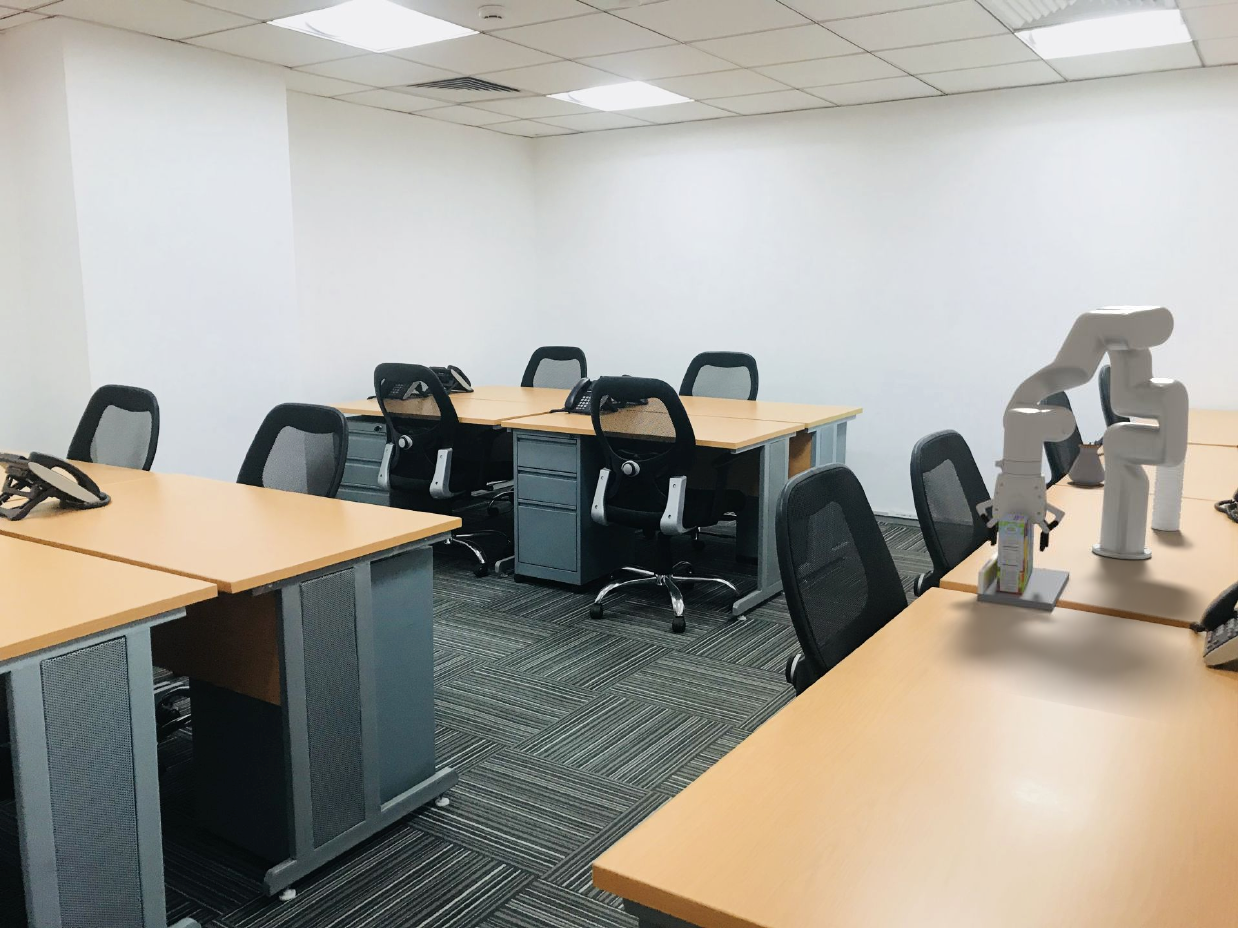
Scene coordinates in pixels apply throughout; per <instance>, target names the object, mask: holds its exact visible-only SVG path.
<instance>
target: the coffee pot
mask: <svg viewBox="0 0 1238 928" xmlns="http://www.w3.org/2000/svg"><path fill="white" fill-rule="evenodd" d="M1078 447H1079V450H1080V452H1079V454H1078V455H1077V457H1076V458H1075V460H1074V462H1073V464H1072V466H1071V468H1070V469H1069V471H1068V473H1067V475H1068V478H1069V479H1070V481H1072V482H1073V483H1074V484H1076V485H1080V486H1099V485H1100V484H1101V483H1104V480H1105V467H1104V466H1103V464H1102V460H1101V458H1100V457H1104V452H1100V453H1099V452H1098V451H1099V449H1100V448H1101V445H1098V444H1088V443H1085V444H1084V443H1083V444H1082V443H1081V444H1078Z"/></svg>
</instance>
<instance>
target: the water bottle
mask: <svg viewBox="0 0 1238 928" xmlns="http://www.w3.org/2000/svg"><path fill="white" fill-rule="evenodd" d="M1185 463H1186V457H1185V458H1184V460H1183V462H1182V463H1181V464H1180V465H1178V466H1176V467H1158V466H1155V468H1156V469H1155V481H1154V487H1153V488H1154V490H1153V498H1152V500H1153V502H1152V503H1153V504H1152V512H1151V513H1152V514H1151V517H1152V518H1151V524H1150V525H1151V529H1154V530H1157V531H1158V530H1159V531H1164V532H1165V531H1167V532H1176V531H1179V530H1180V524H1181V522H1180V519H1181V512H1182V501H1183V500H1182V498H1183V489H1184V488H1183V487H1184V483H1183V482H1184V476H1185V466H1186V464H1185Z"/></svg>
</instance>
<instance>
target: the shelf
mask: <svg viewBox="0 0 1238 928" xmlns="http://www.w3.org/2000/svg"><path fill="white" fill-rule="evenodd" d="M997 564H998V549H997V551H996V552H994V553H993V555H992V556H991V558H990V559H988V561H987V562H986V563H984V565H983V566H982V567H981V569H979V571H978V579H977V599H976V600H977V601H980V602H986V603H993V604H999V605H1001V604H1002V605H1007V606H1014V607H1020V608H1021V607H1022V608H1026V609H1034V610H1035V609H1036V610H1041V609H1042V611H1047V610H1048V611H1049V612H1053V610H1054V608H1055V606H1056V604H1057V602H1058V600H1059V599H1060V597H1059V596H1061V595H1062V593H1063V591H1064V589H1065V587H1066V586H1067V583H1068V582H1067V581H1069V579H1070V574H1071V573H1070V571H1064V570H1058V569H1057V570H1056V569H1049V568H1042V567H1034V566H1033V569H1032V572H1031V574H1030V576H1029V579H1028V581H1027V583H1026V586H1025V588H1024V591H1023V593H1022V594H1015V593H1006V592H997V591H996V588H997ZM1060 594H1061V595H1060ZM1058 598H1059V599H1058ZM1048 611H1047V612H1048Z"/></svg>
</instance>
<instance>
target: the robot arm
mask: <svg viewBox="0 0 1238 928" xmlns="http://www.w3.org/2000/svg"><path fill="white" fill-rule="evenodd" d="M1174 326H1175V320H1174V316H1173V314H1172V312H1171V311H1170V310H1169V309H1168V308H1166V307H1165V306H1158V305H1157V306H1156V305H1155V306H1154V305H1153V306H1151V305H1149V306H1148V305H1144V306H1143V305H1139V306H1138V305H1137V306H1135V305H1132V306H1131V305H1123V306H1122V305H1117V306H1116V305H1115V306H1112V305H1111V306H1104V307H1098V308H1097V309H1095V310H1091V311H1086V312H1084V313H1082V314H1080V315H1079V316H1078V318H1076V320H1075V322H1074V323H1073V325H1072V326H1071V329H1070V330H1069V332H1068V334H1067V336H1066V338H1065V340H1064V341H1063V344H1062V346H1061V348H1060V349H1059V351H1058V353H1057V355H1056V356H1055V359H1053V361H1052V362H1051V363H1049V364H1047V365H1045V366H1044V367H1042V368H1040V369H1039V370H1037V371H1036V372H1035V373H1033V374H1032V375H1030V376H1029V377H1028V378H1026V379H1025V380H1024V381H1022V382H1021V383H1020V384H1019V385H1018V386H1017V388H1016V389H1015V391H1014V393H1013V394H1012V396H1011V398H1010V399H1009V402H1008V403H1007V405H1006V407H1005V409H1004V413H1003V417H1002V427H1003V429H1004V431H1003V432H1004V433H1003V450H1002V451H1003V452H1002V454H1003V455H1002V459H1000V460H995V463H994V465H995V468H999V469H1000V470H1001V471H1000V472H998V473H997V477H996V481H995V484H994V493H993V498H991V499H988V500H986V501H984V502H980V503H978V504H977V505H976V506H975V508H976V511H977V513H978V515H979V516H980V517H979V518H980V519H981V521H983V523H985V524H986V527H987V528H988V531H987V532H988V533H987V538H988V539H987V541H988V542H990V546H991V547H994V546H996V544H998V530H999V525H998V524H997V523H999V520H1000V519H1001V517H1002V516H1003V514H1019V515H1026V516H1029V523H1030V524H1034V525H1038V527H1039V528H1040V529H1041V532H1040V534H1039V552H1041V553H1043V552H1044V551H1045V549H1046V548H1049V545H1050V544H1049V543H1050V532H1052V530H1054V529H1055V528H1057V527H1058V526H1059V525H1060V522H1062V521H1063V518H1064V517H1065V516H1066V512H1065V511H1063V510H1062V509H1060V508H1058V507H1056V506H1054V505H1052V504H1051V503H1049V502H1048V500H1047V498H1048V497H1047V483H1046V477H1045V474H1042V470H1043V469H1042V467H1043V466H1042V465H1043V448H1044V442H1054V443H1057V442H1062V441H1064V440H1067V439H1068V438H1070V437H1071V436H1072V435H1073V433H1074V432H1075V430H1076V426H1077V422H1076V421H1077V420H1076V417H1075V414H1074V413H1073V412H1072V410H1070V409H1069V408H1067V407H1064V406H1059V405H1049V404H1039V403H1040V402H1041V401H1042V400H1044V399H1047V398H1048V397H1049V396H1052V395H1054V394H1057V393H1061V392H1064V391H1068V390H1072V389H1074V388H1075V389H1076V388H1077V387H1080V386H1082V385H1085V384H1087V383H1089V382H1091V380H1092V378H1093V377H1094V376H1095V373H1096V371H1097V369H1099V368H1098V367H1099V365H1100V364H1101V362H1102V360H1103V358H1104V356H1105V354H1106V353H1107V355H1108V357H1109V362H1110V364H1109V366H1110V386H1109V387H1110V389H1109V391H1110V392H1109V393H1110V394H1109V395H1110V396H1109V397H1110V399H1109V400H1110V408H1111V411H1112V412H1113V414H1115V415H1116V416H1119V417H1123V418H1128V419H1129V418H1130V419H1139V420H1153V421H1157V423H1158V424H1150V423H1142V422H1141V423H1140V422H1131V421H1130V422H1127V421H1125V422H1123V421H1122V422H1117V423H1113V424H1111V425H1110V426H1108V427H1107V428H1106V430H1105V431H1104V433H1103V436H1102V451H1103V452H1104V455H1103V458H1104V459H1103V460H1104V471H1105V480H1104V481H1103V495H1102V496H1103V497H1102V509H1101V510H1102V512H1101V522H1100V534H1099V535H1100V537H1099V542H1098V543H1094V544H1093V545H1092V548H1091V550H1092V552H1093V553H1095V554H1097V555H1101V556H1103V557H1106V558H1107V557H1108V558H1112V559H1113V558H1114V559H1122V560H1144V559H1145V560H1146V559H1149V558H1151V556H1152V550H1151V549H1150V548H1148V547H1145V545H1146V535H1147V524H1148V523H1147V522H1148V512H1149V511H1148V509H1149V500H1150V499H1149V497H1150V479H1149V477H1148V474H1147V472H1146V471H1145V469H1144V467H1143V466H1144V465H1145V466H1151V467H1156V466H1158V467H1176V466H1178V465H1180V464H1181V463H1182V462H1183V460H1184V458H1185V459H1186V456H1187V450H1188V440H1189V439H1188V438H1189V437H1188V436H1189V435H1188V433H1189V405H1190V404H1189V394H1188V391H1187V388H1186V386H1185V385H1184V384H1183V383H1182V382H1181V381H1179V380H1176V379H1172V378H1158V377H1154V375H1153V356H1152V353H1151V350H1150V348H1152V347H1157V346H1160V345H1162V344H1165V343H1166V342H1167V341H1168V340H1169V338H1170V337H1171V335H1172V333H1173V330H1174ZM1103 452H1102V453H1103ZM990 507H992V509H991V510H992V516H990V515H989V514H988V513H987V511H986V509H987V508H990ZM1047 512H1049V513H1050V514H1053V516H1055V517H1054V519H1053V520H1052V521H1051V522H1048V521H1047V519H1046V518H1047Z"/></svg>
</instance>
